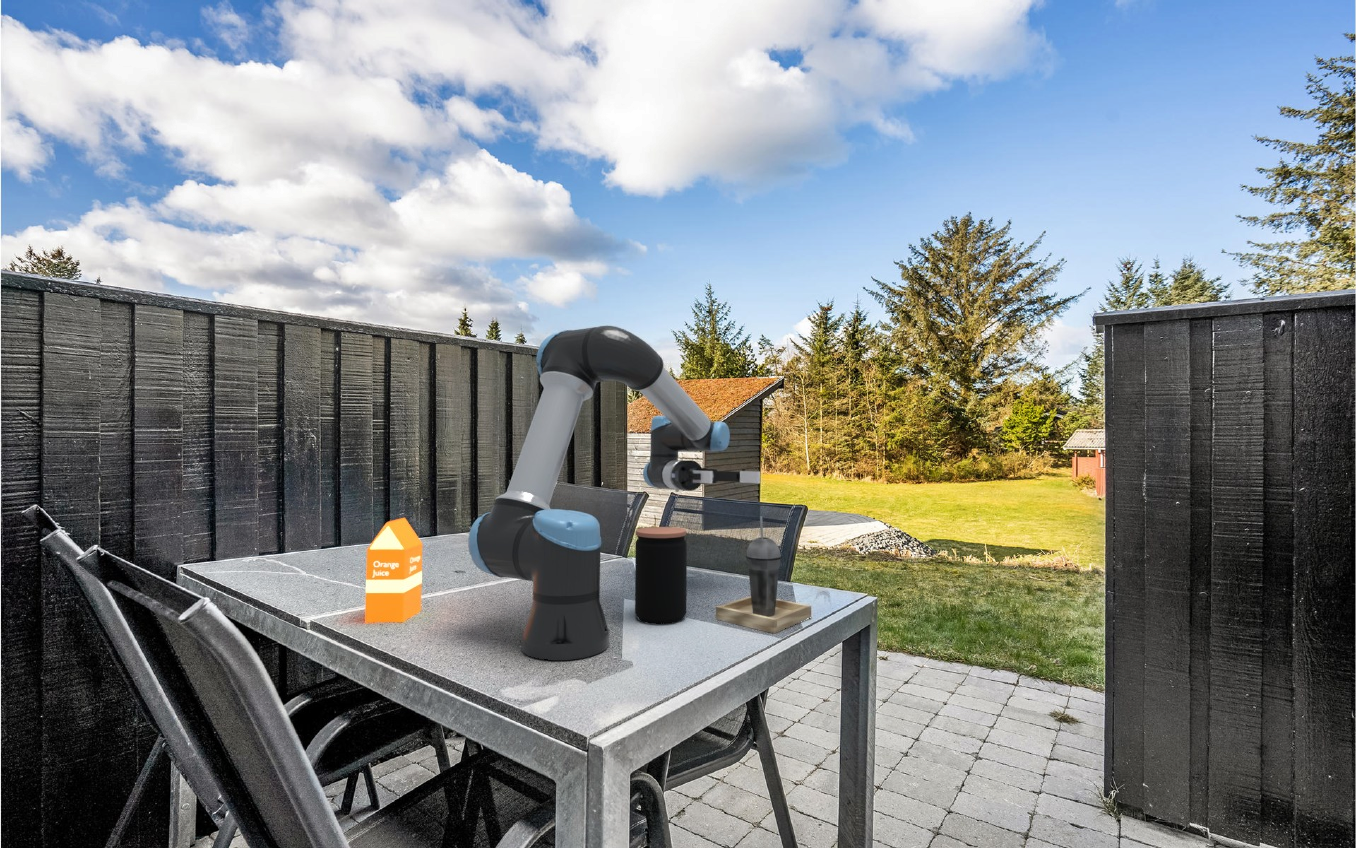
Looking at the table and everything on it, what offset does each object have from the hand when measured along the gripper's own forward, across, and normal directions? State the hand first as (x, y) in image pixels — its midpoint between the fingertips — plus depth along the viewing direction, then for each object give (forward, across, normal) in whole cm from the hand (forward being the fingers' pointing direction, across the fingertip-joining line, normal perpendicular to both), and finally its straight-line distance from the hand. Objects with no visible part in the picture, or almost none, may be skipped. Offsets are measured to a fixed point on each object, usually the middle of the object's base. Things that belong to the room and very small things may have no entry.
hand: (735, 477), depth 130 cm
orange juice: (-32, +64, -30) cm, 78 cm away
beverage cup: (+10, 0, -28) cm, 30 cm away
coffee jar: (-2, +18, -29) cm, 34 cm away
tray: (+10, 0, -29) cm, 30 cm away
